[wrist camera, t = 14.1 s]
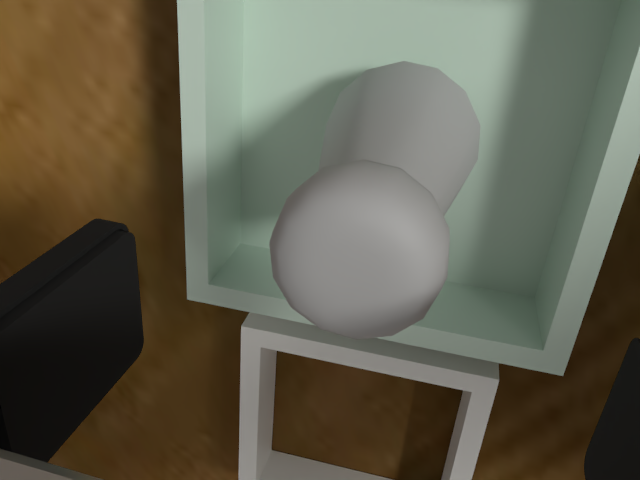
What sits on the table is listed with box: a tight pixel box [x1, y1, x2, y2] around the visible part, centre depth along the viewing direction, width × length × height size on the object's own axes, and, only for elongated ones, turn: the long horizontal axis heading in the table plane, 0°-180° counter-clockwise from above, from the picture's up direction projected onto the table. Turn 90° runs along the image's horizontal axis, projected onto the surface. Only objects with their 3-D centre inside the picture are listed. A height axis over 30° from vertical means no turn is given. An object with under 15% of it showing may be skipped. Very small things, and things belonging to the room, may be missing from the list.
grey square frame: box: [239, 312, 499, 480], centre depth 31 cm, size 12×12×3 cm
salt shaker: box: [269, 61, 481, 340], centre depth 19 cm, size 6×6×13 cm
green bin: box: [177, 0, 640, 376], centre depth 23 cm, size 16×16×4 cm
